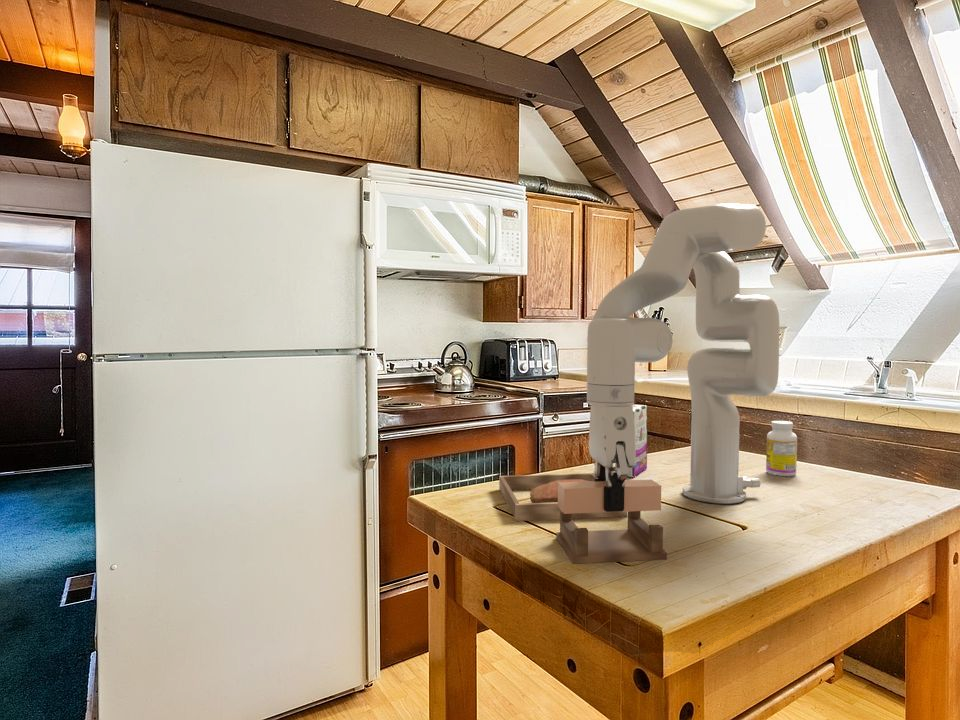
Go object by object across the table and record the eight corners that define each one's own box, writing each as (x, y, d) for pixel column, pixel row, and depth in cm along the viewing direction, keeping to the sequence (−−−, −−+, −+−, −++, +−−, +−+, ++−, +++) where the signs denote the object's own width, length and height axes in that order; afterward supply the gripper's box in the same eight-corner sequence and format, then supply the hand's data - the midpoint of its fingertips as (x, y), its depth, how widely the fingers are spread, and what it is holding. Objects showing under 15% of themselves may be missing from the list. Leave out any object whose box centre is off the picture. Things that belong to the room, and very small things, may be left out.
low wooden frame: (593, 486, 134) (593, 473, 134) (627, 516, 112) (627, 500, 112) (499, 489, 131) (499, 475, 131) (515, 520, 110) (515, 505, 110)
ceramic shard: (533, 469, 129) (602, 481, 127) (528, 499, 128) (597, 511, 127) (532, 477, 114) (609, 491, 112) (527, 511, 114) (605, 525, 112)
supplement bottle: (768, 469, 149) (769, 419, 148) (798, 472, 145) (799, 421, 144) (763, 474, 144) (764, 422, 143) (794, 478, 140) (795, 425, 139)
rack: (640, 534, 102) (640, 506, 102) (667, 559, 92) (667, 527, 91) (556, 538, 101) (556, 509, 101) (573, 563, 90) (573, 531, 90)
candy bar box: (628, 466, 152) (628, 403, 151) (647, 468, 150) (648, 405, 149) (613, 475, 143) (614, 408, 142) (633, 478, 140) (634, 410, 139)
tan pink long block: (651, 502, 99) (651, 479, 98) (660, 510, 95) (661, 485, 94) (557, 506, 97) (558, 482, 97) (564, 513, 93) (564, 488, 93)
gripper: (653, 400, 87) (651, 522, 88) (615, 389, 103) (613, 491, 104) (604, 401, 86) (602, 524, 87) (573, 389, 103) (572, 493, 104)
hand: (608, 505), depth 96 cm, fingers closed on tan pink long block, 4 cm apart
